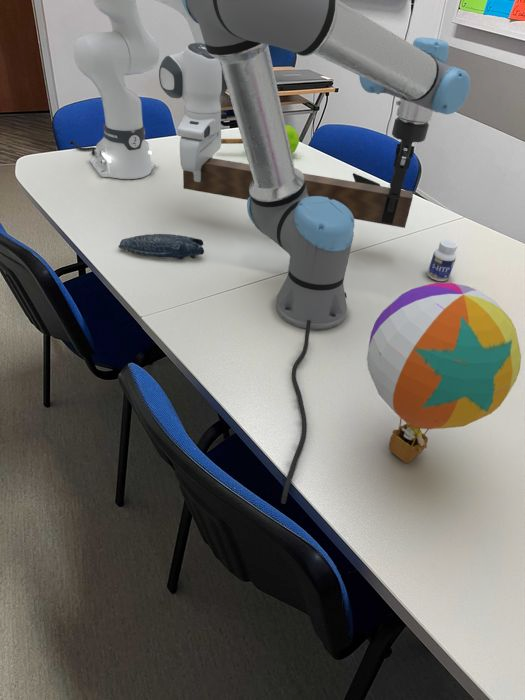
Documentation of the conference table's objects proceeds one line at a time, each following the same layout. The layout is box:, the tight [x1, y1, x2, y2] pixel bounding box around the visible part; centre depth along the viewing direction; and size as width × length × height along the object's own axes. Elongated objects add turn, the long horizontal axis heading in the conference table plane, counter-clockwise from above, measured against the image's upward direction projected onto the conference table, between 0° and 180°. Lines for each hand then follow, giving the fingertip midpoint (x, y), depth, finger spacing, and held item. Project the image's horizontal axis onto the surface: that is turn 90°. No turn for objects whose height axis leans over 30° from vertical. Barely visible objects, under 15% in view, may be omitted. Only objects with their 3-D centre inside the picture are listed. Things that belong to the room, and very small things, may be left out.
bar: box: [182, 157, 414, 229], centre depth 131 cm, size 58×5×8 cm, turn 75°
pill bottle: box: [427, 239, 458, 282], centre depth 126 cm, size 5×5×9 cm
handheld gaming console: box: [352, 172, 381, 186], centre depth 167 cm, size 12×7×10 cm
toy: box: [366, 282, 522, 464], centre depth 73 cm, size 20×20×30 cm
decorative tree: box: [221, 124, 300, 155], centre depth 186 cm, size 18×10×30 cm
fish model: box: [118, 233, 205, 260], centre depth 125 cm, size 7×21×5 cm, turn 84°
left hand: (202, 177), depth 135 cm, fingers closed on bar, 5 cm apart
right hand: (387, 218), depth 129 cm, fingers closed on bar, 5 cm apart
